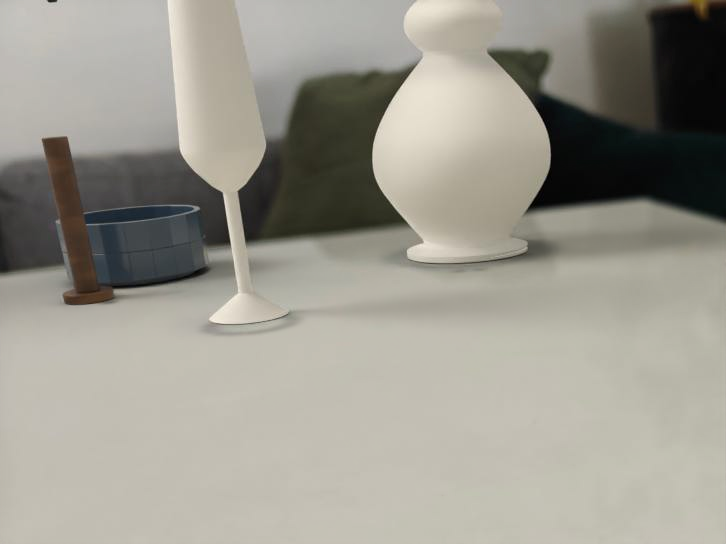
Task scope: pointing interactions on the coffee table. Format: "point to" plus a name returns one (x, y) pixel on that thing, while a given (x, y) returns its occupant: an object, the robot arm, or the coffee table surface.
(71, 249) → the stirring stick
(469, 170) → the decorative vase
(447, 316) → the coffee table surface
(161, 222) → the bowl
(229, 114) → the champagne flute
